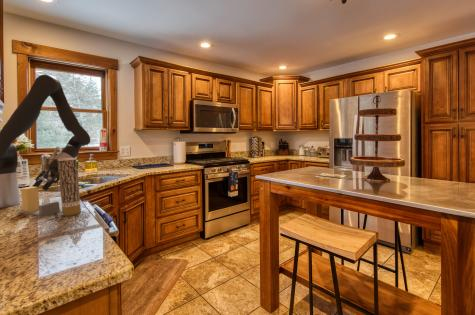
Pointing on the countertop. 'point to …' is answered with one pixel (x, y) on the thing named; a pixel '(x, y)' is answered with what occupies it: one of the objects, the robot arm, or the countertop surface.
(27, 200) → the keeper
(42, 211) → the track
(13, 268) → the countertop surface
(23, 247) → the countertop surface
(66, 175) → the brown bark pillar
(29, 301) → the countertop surface
